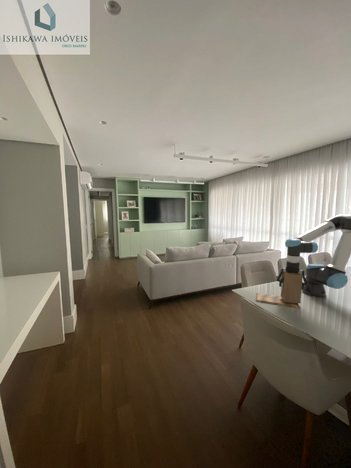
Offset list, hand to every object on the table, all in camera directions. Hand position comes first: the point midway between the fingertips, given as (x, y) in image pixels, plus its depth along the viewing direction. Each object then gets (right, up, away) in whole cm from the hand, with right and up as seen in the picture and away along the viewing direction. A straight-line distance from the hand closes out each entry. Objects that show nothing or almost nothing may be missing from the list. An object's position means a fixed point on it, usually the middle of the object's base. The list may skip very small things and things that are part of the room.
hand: (290, 292), depth 134 cm
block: (0, -6, +1) cm, 6 cm away
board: (-8, -7, +4) cm, 11 cm away
